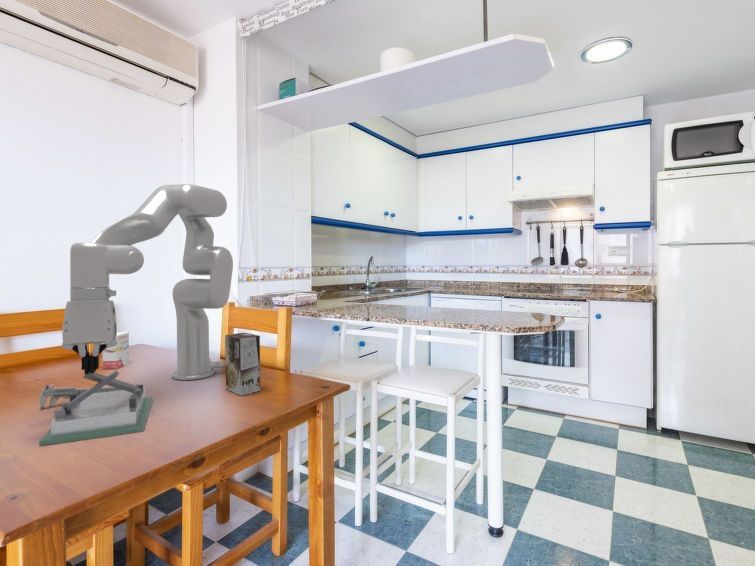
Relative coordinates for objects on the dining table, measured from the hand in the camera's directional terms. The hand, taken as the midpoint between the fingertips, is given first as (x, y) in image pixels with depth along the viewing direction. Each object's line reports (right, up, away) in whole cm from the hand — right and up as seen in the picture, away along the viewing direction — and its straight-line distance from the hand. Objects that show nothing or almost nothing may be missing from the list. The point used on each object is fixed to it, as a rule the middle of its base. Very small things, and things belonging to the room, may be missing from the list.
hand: (90, 372), depth 96 cm
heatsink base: (+5, -11, -2) cm, 12 cm away
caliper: (-10, -11, +13) cm, 19 cm away
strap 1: (+5, -3, -7) cm, 9 cm away
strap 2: (+4, -4, +2) cm, 6 cm away
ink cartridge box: (-25, -9, +48) cm, 55 cm away
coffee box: (+29, -10, +21) cm, 37 cm away
